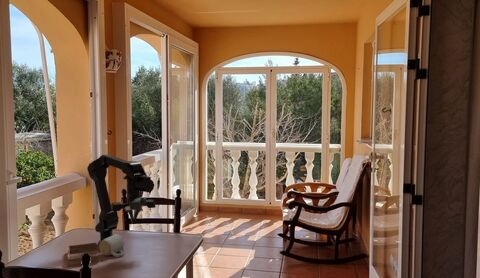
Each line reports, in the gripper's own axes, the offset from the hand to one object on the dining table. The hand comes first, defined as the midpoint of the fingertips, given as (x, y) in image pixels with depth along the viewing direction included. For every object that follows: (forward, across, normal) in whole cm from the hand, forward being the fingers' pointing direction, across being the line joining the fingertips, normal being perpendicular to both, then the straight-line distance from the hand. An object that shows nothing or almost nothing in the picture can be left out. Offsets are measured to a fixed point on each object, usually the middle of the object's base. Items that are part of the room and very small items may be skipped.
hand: (133, 224), depth 174 cm
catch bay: (+12, -21, 0) cm, 25 cm away
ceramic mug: (+13, -9, -1) cm, 15 cm away
